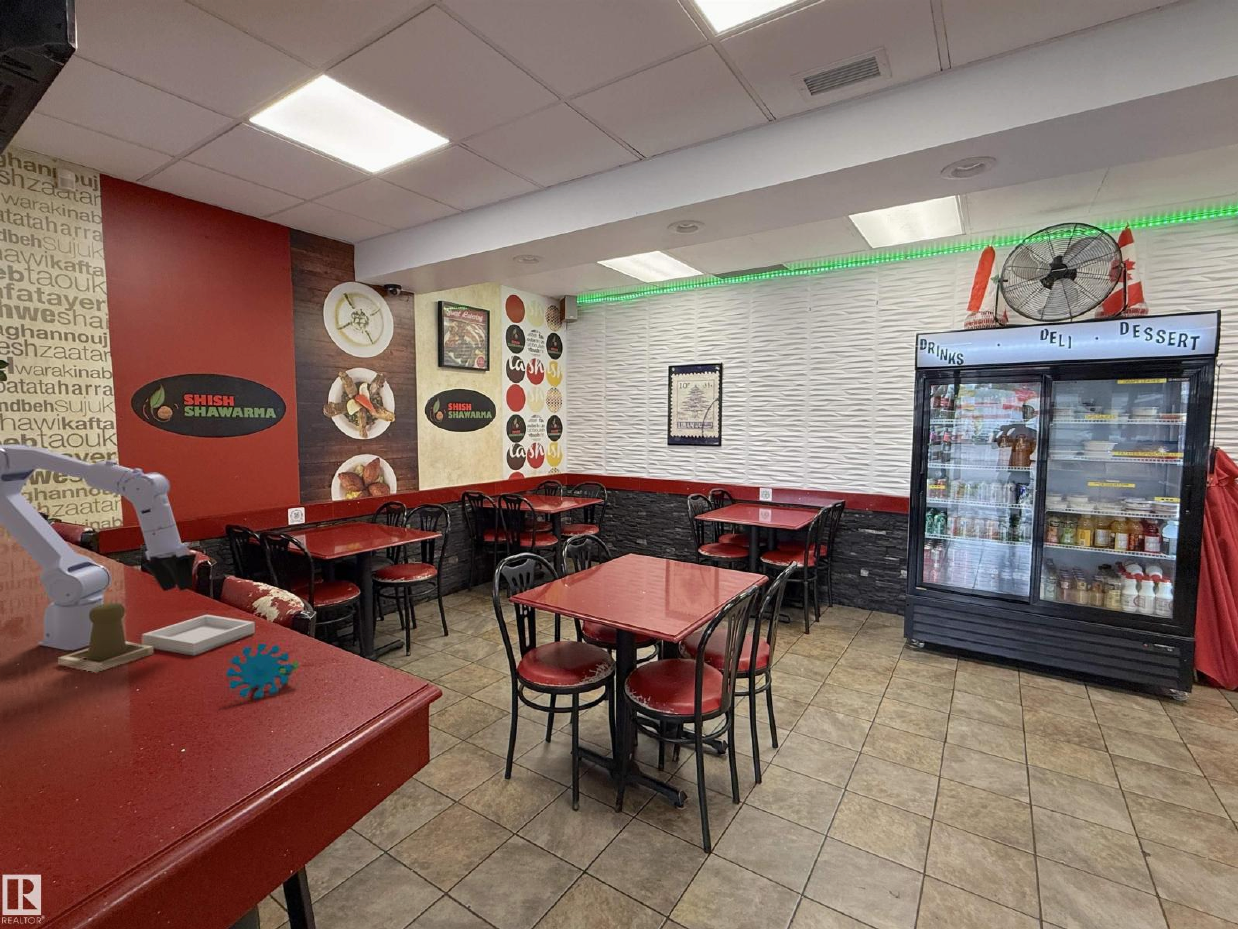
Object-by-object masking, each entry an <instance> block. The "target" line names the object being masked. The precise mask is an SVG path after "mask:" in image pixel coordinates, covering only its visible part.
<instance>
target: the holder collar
mask: <svg viewBox="0 0 1238 929" xmlns="http://www.w3.org/2000/svg"><path fill="white" fill-rule="evenodd" d="M125 643H126V649H127V653H126V654H123V655H120V656H117V657H114V658H111V659H108V660H105V661H102V662H99V663H98V662H93V661H88V660H87V659H80V658H82V657H87V655H88V649H89V647H88V648H85V649H82V650H79V651H76V652H72V653H69V654H65V655H62V656H60V657H57V665H58V664H65V665H68V666H72V667H78V668H81V669H83V670H86V671H85V672H88V671H92V672H91V673H93V672H96V673H95V674H98V673H97V672H99V671H102V672H104V671H103V670H105V671H107V670H106V669H108V668H110V667H113V668H116V667H118V666H117V665H119V666H121V665H120V664H122V665H125V664H127V663H128V664H129V663H130V661H131V662H134V661H136V660H139V659H142V658H144V657H145V658H146V657H148V656H151V655H153V654H154V651H155V650H154V649H155V648H154V646H148V645H143V644H142V643H136V642H132V641H126V640H125ZM141 657H142V658H141ZM115 666H116V667H115ZM83 670H82V671H83ZM108 670H109V669H108ZM99 673H100V672H99Z"/></svg>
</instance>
